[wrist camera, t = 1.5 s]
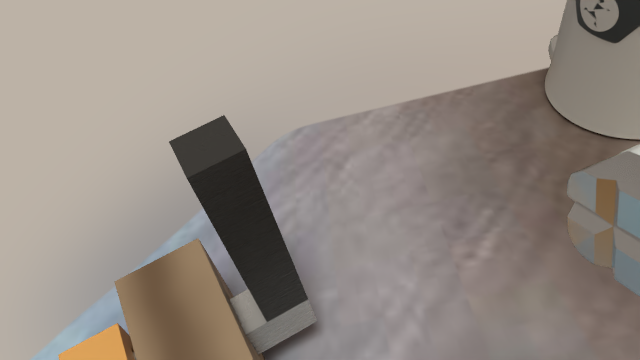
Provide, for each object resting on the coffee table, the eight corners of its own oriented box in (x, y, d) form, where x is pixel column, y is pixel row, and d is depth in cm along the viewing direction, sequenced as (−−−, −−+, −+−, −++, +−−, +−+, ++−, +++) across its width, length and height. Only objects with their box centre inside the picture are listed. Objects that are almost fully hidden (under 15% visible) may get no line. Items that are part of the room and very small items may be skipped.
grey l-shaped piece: (298, 289, 40) (224, 115, 28) (317, 321, 38) (245, 149, 26) (89, 405, 37) (-98, 269, 25) (97, 446, 35) (-102, 320, 23)
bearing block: (241, 310, 45) (198, 238, 37) (294, 420, 38) (253, 359, 31) (173, 348, 43) (114, 281, 36) (214, 468, 37) (152, 416, 30)
